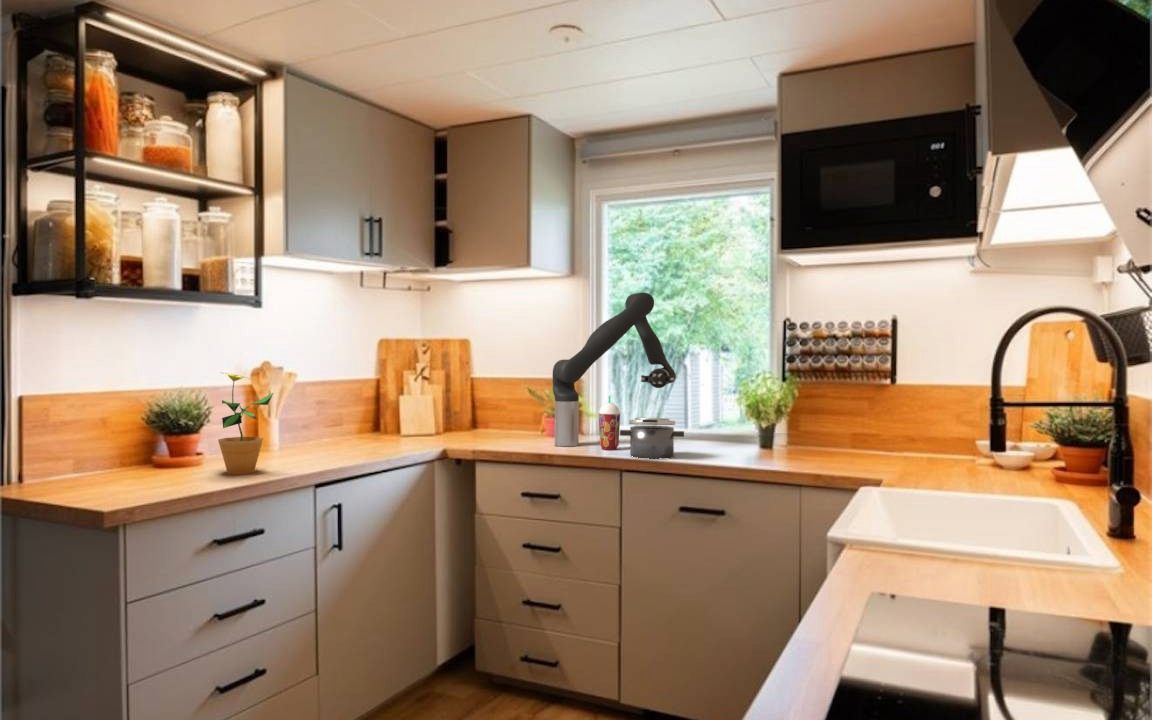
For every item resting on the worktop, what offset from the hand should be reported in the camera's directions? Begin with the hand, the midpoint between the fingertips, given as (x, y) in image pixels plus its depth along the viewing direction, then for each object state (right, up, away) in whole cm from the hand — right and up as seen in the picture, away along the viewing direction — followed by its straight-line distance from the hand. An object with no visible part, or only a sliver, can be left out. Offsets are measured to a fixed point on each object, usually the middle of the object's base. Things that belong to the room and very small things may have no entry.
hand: (655, 379), depth 284 cm
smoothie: (-17, -26, +3) cm, 31 cm away
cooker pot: (-3, -26, -16) cm, 31 cm away
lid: (-3, -15, -18) cm, 23 cm away
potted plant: (-129, -26, -54) cm, 142 cm away
